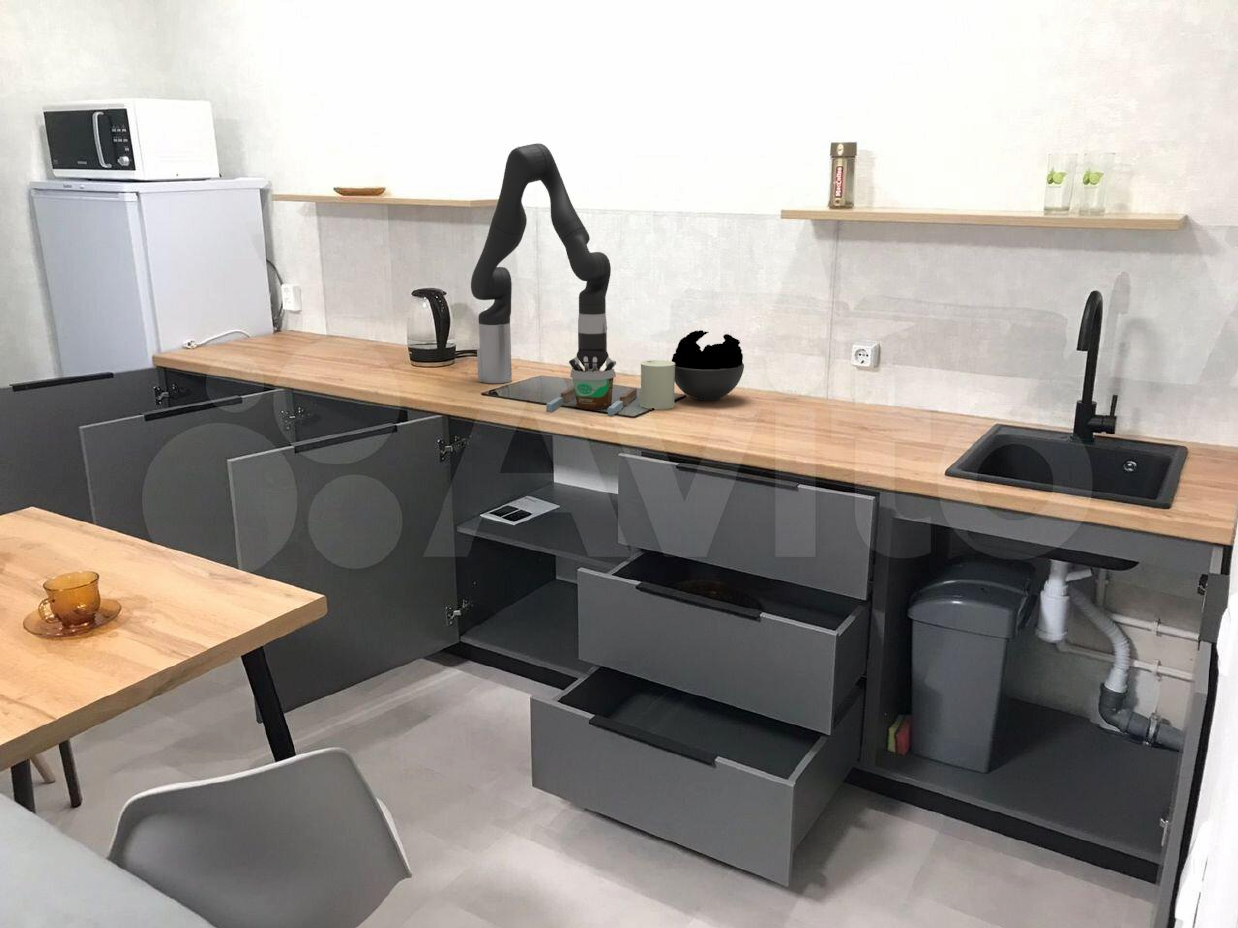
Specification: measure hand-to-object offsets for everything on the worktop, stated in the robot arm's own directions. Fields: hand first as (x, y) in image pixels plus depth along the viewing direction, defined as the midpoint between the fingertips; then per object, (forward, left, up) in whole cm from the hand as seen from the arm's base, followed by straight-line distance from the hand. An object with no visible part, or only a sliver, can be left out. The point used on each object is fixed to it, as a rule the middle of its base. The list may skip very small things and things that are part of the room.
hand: (592, 395), depth 264 cm
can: (+17, +2, -3) cm, 18 cm away
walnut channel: (0, +5, -2) cm, 6 cm away
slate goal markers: (0, -8, -2) cm, 8 cm away
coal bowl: (+28, +13, -3) cm, 31 cm away
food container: (+1, -4, -3) cm, 5 cm away
